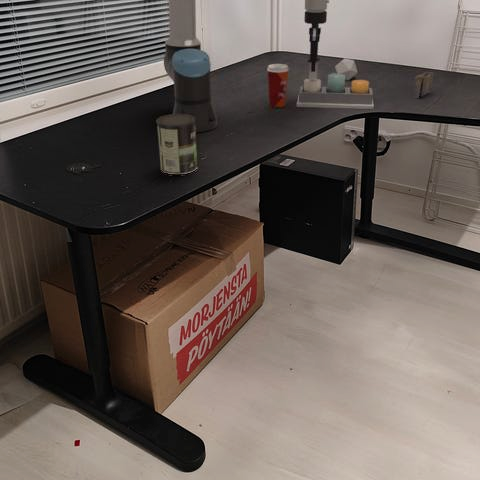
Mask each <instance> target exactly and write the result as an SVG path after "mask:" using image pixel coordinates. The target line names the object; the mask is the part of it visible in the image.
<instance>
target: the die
mask: <svg viewBox="0 0 480 480" xmlns="http://www.w3.org/2000/svg"><path fill="white" fill-rule="evenodd" d="M334 68H335V72H336V73H338V74H344V75H345V81H347V82H348V81H350V80H351V79H352V78H353V77H354V76H355V75H357V74H358V69H357V65H356V63H355V60H354V59H349V58H343V59H342V60H341V61H340V62H338V63H337V64H336V65H335V66H334Z"/></svg>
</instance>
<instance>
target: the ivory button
mask: <svg viewBox="0 0 480 480" xmlns="http://www.w3.org/2000/svg"><path fill="white" fill-rule="evenodd" d="M303 86H304V92H320V89H321V87H322V80H321V79H319V78H317V81H311V80H309V78H305V79H304V81H303Z"/></svg>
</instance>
